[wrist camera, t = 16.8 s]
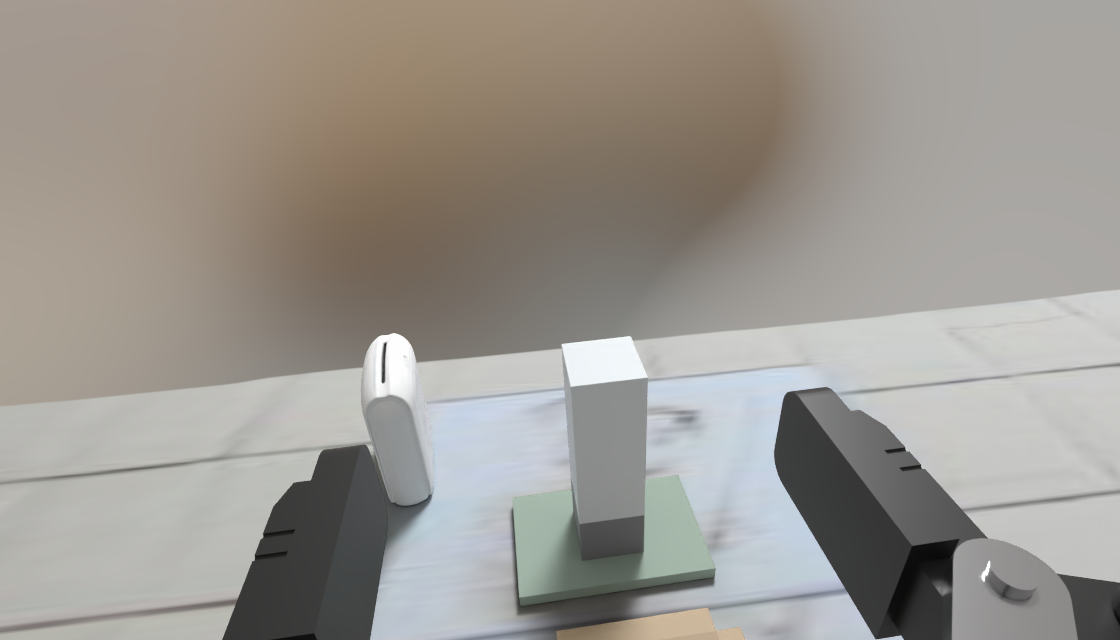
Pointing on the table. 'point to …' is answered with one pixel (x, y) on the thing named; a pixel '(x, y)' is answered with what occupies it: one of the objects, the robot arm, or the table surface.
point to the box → (606, 444)
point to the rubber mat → (561, 573)
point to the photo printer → (398, 420)
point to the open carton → (656, 629)
